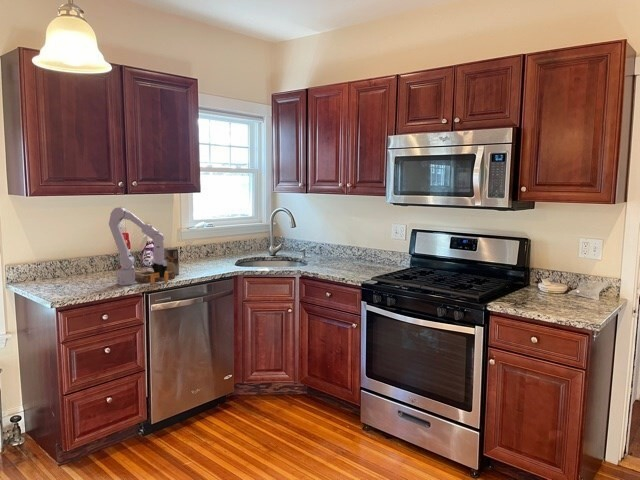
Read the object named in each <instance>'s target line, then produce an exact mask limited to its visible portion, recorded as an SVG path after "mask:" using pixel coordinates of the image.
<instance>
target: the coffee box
mask: <svg viewBox="0 0 640 480" xmlns="http://www.w3.org/2000/svg"><path fill="white" fill-rule="evenodd" d="M164 260H165V261H166V262H167V268H166V270H169V271H173V272H175V276H176V275H180V265H179V264H180V263H179V248H164Z"/></svg>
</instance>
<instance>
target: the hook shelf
mask: <svg viewBox="0 0 640 480" xmlns="http://www.w3.org/2000/svg"><path fill="white" fill-rule="evenodd" d="M165 272H168V280H174V279H175V278H176V277H175V276H176V275H175V272H173V271H169V270H166V271H165ZM152 273H154V270H153V268H149V269H148V268H147V269H145V270H144V271H143V270H142V271H135V282H138V283H143V284H146V283H151V274H152ZM159 280H160V281H165V278H164V277H163V278H160V277H157V278H155V282H159Z"/></svg>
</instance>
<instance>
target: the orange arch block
mask: <svg viewBox="0 0 640 480" xmlns="http://www.w3.org/2000/svg"><path fill="white" fill-rule="evenodd" d="M157 277H160V276H159V273H152V274H151V282H150V284H151V285H154V284H156V281H155V278H157ZM164 278H165V280H164V282H165V283H169V279H168V272H165V274H164Z"/></svg>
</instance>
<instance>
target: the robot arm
mask: <svg viewBox="0 0 640 480" xmlns="http://www.w3.org/2000/svg"><path fill="white" fill-rule="evenodd" d="M122 220H128V221H131V222H132V223H133V224H135V225H136V226H137V227H139V228H140V230H141V232H142V234H144V235H146V236H147V237H148V238H149V239H151V241H152V242H153V259H151V269H152V270H154V273H159V276H160V278H163V277H164V274H165V271H166V268H167V262H166V261H165V260H164V249H165V246H164V245H165V243H164V240H165V235H164V234H163V233H162V232H160V230H157V229H156V228H155V227H153V224H149V223H145V222H143V221H142V220H141V219H140V218H139V217H138V216H136V215H135V214H134V213H133V212H132V211H130V210H129V209H127V208H125V207H124V206H119V207H114V208H113V209H112V211H111V212H110V215H109V221H108V226H109V228H110V232H111V234H112V237H113V240H114V242H115V245H116V247H117V249H118V252H119V259H120V261H119V262H120V263H119V264H120V266H121V267H120V268H119V269H117V270H116V273H115V274H116V285H119V286H129V285H135V284H138V283H139V281H136V280H135V272H136V269H135V266H134V265H135V262H136V260H135V257H134V256H133V255H132V254H131V251H130V250H129V248H128V245H127V242H126V241H125V238H124V235H123V232H122V229H121V227H120V224H121V222H122Z"/></svg>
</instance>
